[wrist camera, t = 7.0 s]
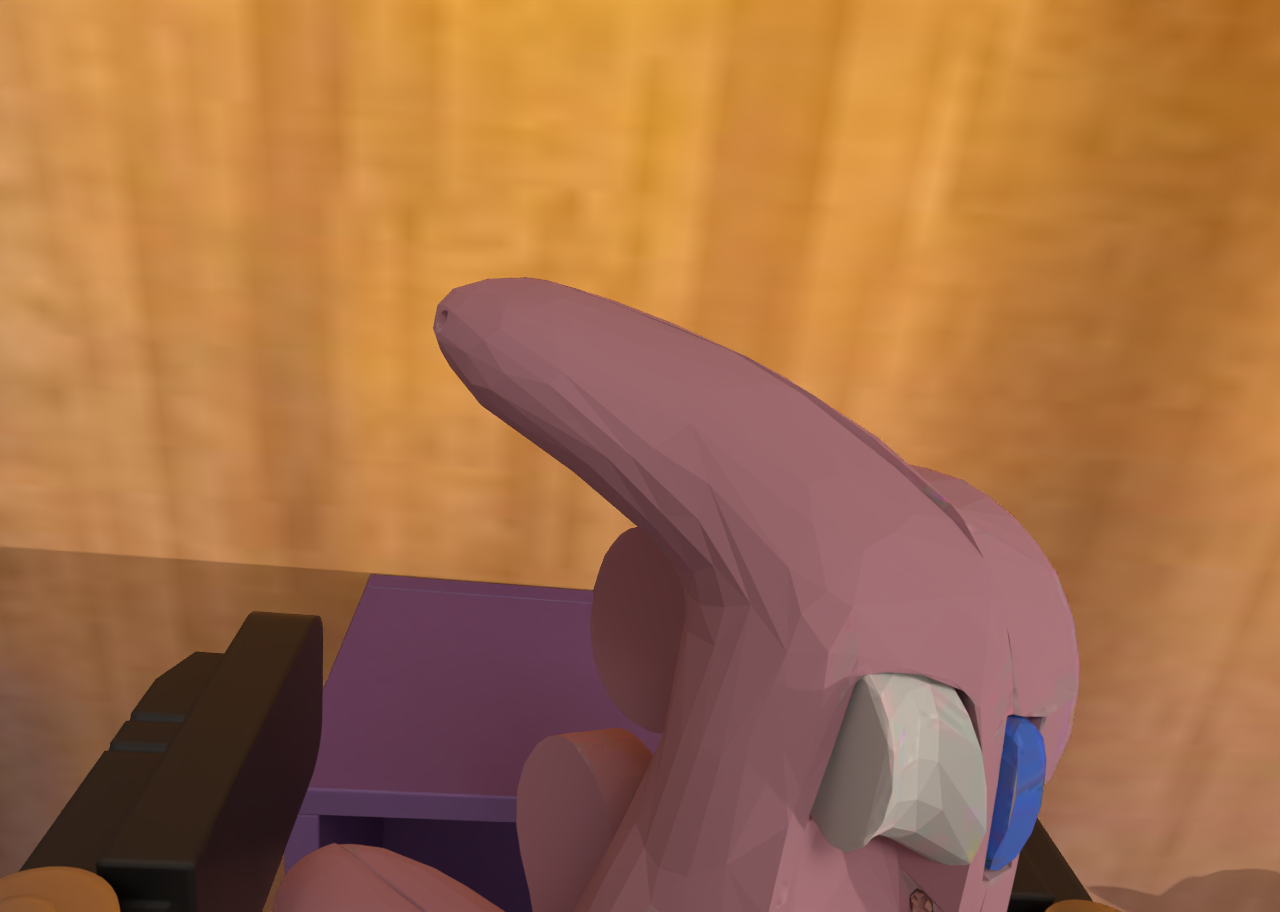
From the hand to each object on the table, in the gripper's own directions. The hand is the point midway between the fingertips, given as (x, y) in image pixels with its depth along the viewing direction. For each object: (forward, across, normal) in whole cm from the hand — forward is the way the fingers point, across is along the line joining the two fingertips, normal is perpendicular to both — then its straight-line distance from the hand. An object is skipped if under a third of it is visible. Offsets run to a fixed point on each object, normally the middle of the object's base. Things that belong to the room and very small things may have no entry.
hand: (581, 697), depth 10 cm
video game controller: (+1, 0, 0) cm, 1 cm away
